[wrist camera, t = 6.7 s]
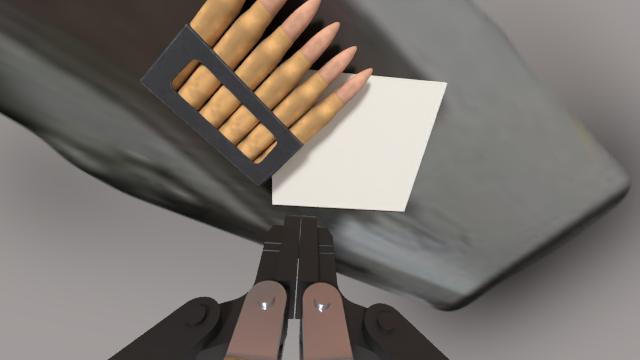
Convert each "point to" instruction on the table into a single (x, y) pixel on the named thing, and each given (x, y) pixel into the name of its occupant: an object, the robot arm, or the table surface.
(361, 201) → the mat
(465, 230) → the table surface
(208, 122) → the ammunition clip
